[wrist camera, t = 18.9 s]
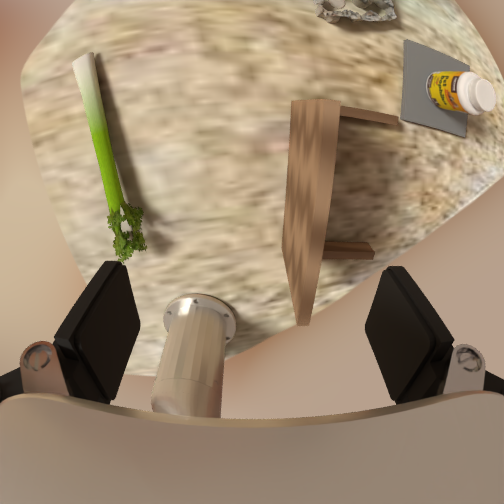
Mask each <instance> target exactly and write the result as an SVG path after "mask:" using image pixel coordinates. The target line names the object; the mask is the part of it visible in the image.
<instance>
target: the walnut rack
mask: <svg viewBox="0 0 504 504" xmlns="http://www.w3.org/2000/svg"><path fill="white" fill-rule="evenodd" d="M340 102H341V101H335V100H328V99H313V100H297V101H292V103H291V122H290V140H289V156H288V172H287V186H286V200H285V212H284V225H283V237H282V252H283V257H284V262H285V267H286V272H287V276H288V281H289V287H290V292H291V297H292V302H293V307H294V312H295V318H296V323H297V326H308V325H309V323H310V318H311V314H312V309H313V304H314V299H315V294H316V288H317V283H318V278H319V272H320V267H321V261H322V259H366V260H373V257H374V254H375V252H374V251H373V249H372V248H371V246H370V245H369V244H368V243H365V242H334V241H325V236H326V230H327V223H328V217H329V209H330V202H331V195H332V187H333V178H334V170H335V161H336V151H337V140H338V129H339V117H340V116H347V117H354V118H360V119H366V120H371V121H377V122H382V123H387V124H392V125H397V126H398V116H393V115H389V114H384V113H379V112H374V111H369V110H363V109H358V108H352V107H345V106H340Z"/></svg>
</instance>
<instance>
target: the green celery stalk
mask: <svg viewBox="0 0 504 504" xmlns="http://www.w3.org/2000/svg"><path fill="white" fill-rule="evenodd" d="M72 66H73V70H74V73H75V76H76V79H77V83H78V86H79V89H80V92H81V95H82V99H83V104H84V108H85V112H86V116H87V119H88V123H89V127H90V131H91V135H92V139H93V143H94V147H95V151H96V155H97V159H98V163H99V167H100V171H101V176H102V180H103V185H104V189H105V194H106V198H107V202H108V206H109V211H110V216H107V218H108V224H109V223H110V225H111V223H112V227H111V226H109V227H108V228H112V229H113V231H114V233H115V235H116V237H115V240H114V241H113V242H115V243H114V244H113V247H114V248H115V251H116V256H117V255H119V257H121V256H123V258H122V257H121V259H118V260H117V261H120V262H121V261H122V262H123V261H124V260H126V258H127V259H129V258H128V257H132V254H130V253H133V252H134V250H133V249H135V250H139V252H140V250H141V251H142V250H145V251H146V249H147V246H145V240H144V238H143V234H142V232H141V233H140V232H139V233H138V232H137V231H139V230H138V229H140V225H141V222H142V220H140V218H141V219H142V216H141V215H143V213H144V212H143V211H142V210H141V208H139V207H138V206H137V207H138V208H139V209H140V210H137V208H136V207H135V209H133V207H132V206H130V207H131V208H130V207H129V205H130V204H129V203H128V204H129V205H128V204H126V203H125V201H124V197H123V193H122V190H121V186H120V182H119V178H118V173H117V169H116V165H115V160H114V156H113V151H112V147H111V142H110V137H109V132H108V127H107V122H106V118H105V113H104V108H103V103H102V98H101V93H100V88H99V83H98V77H97V71H96V65H95V59H94V53H93V52H92V53H87V54H85V55H83V56H81V57H79V58H78V59H76V60H75V61H73V63H72ZM120 205H121V207H122V209H123V211H124V214H125V215H123V217H122V215H120ZM126 216H127V217H126ZM120 219H121V220H120ZM126 219H127V222H128V224H129V226H130V225H132V228H133V232H132V234H133V237H134V238H133V239H132V241H131V240H127V239H129V236H130V235H129V232H128V231H127V230H126V231H127V232H126V233H127V234H125V231H124V233H122V230H121V222H122V221H124V220H126ZM134 221H135V222H134ZM135 225H136V226H135ZM134 226H135V227H134ZM135 232H136V233H137V235H136V233H135ZM118 234H119V235H118ZM135 236H136V237H135ZM131 242H133V243H131ZM142 242H143V243H144V246H145V248H144V247H143V243H142ZM141 244H142V245H141ZM130 247H131V248H130ZM138 248H139V249H138ZM141 248H142V249H141ZM123 253H124V254H123ZM120 254H121V256H120ZM126 256H127V257H126ZM123 264H124V262H123Z"/></svg>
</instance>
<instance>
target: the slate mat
mask: <svg viewBox="0 0 504 504" xmlns="http://www.w3.org/2000/svg"><path fill="white" fill-rule="evenodd" d="M438 71H463V72H470V66H469V65H467V64H465V63H463V62H461V61H458V60H456V59H454V58H452V57H450V56H448V55H446V54H443V53H441V52H439V51H436V50H434V49H431V48H429V47H426V46H424V45H421V44H419V43H416V42H413V41H410V40H408V39H407V40H404V69H403V91H402V105H401V117H400V119H402V120H406V121H410V122H414V123H418V124H422V125H426V126H429V127H433V128H436V129H440V130H443V131H446V132H449V133H452V134H456V135H459V136H462V137H465V134H466V125H467V115H468V114H467V113H462V112H458V111H452V110H447V109H442V108H439V107H437V106H436V105H434V104H433V103H432V101H431V100H430V98H429V97H428V94H427V90H426V82H427V79H428V77H429V75H430V74H432V73H433V72H438Z"/></svg>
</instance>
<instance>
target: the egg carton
mask: <svg viewBox="0 0 504 504" xmlns="http://www.w3.org/2000/svg"><path fill="white" fill-rule="evenodd" d="M313 1H314V5H316V4H318V8H317V9H316V10H315V12H316V15H317V17H321V18H324V19H325V20H326V21H327V22H328V23H336V22H338V21H339V20H340V16H345V17H348V18H350V19H351V21H352V22H357V21H362V20H366V21H374V22H381V21H384V20H388V21H390V20H392V19H396V18H397V16H396V14H395V13H394V4H393V3H392V0H352V2H353V4H354V5H355V6H357V7H359V8H366V7H368V6H369V5H371V4H372V3H373V2H375V4H376V5H377V6H378V7H379V8H381V9H384V10H385V13H386V15H385V16H383V17H381V16H379V15H378V14H377V13H375V12H373V11H372V10H369V11H368V12H366V13H365V14H363V15H362V16H361V15H360V14H359V13H357V12H356V13H354V12H353V11H347V10H344V11H342V12H340V11H327V10H325V9H324V7H323V6H322V5H323V3H324V0H313ZM328 1H329V4H330V5H331V6H332V7H334V8H337V9H340V8H343V7H344V6H345V1H344V0H328Z"/></svg>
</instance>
